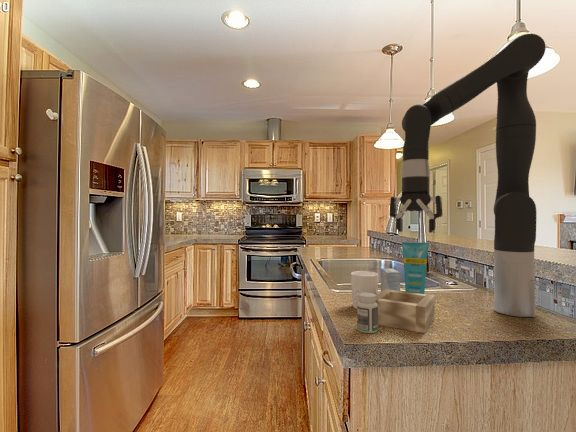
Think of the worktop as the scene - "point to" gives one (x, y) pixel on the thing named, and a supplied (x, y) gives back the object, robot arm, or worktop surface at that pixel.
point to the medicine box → (390, 279)
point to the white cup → (363, 284)
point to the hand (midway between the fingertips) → (415, 232)
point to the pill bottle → (367, 313)
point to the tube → (415, 266)
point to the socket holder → (405, 310)
